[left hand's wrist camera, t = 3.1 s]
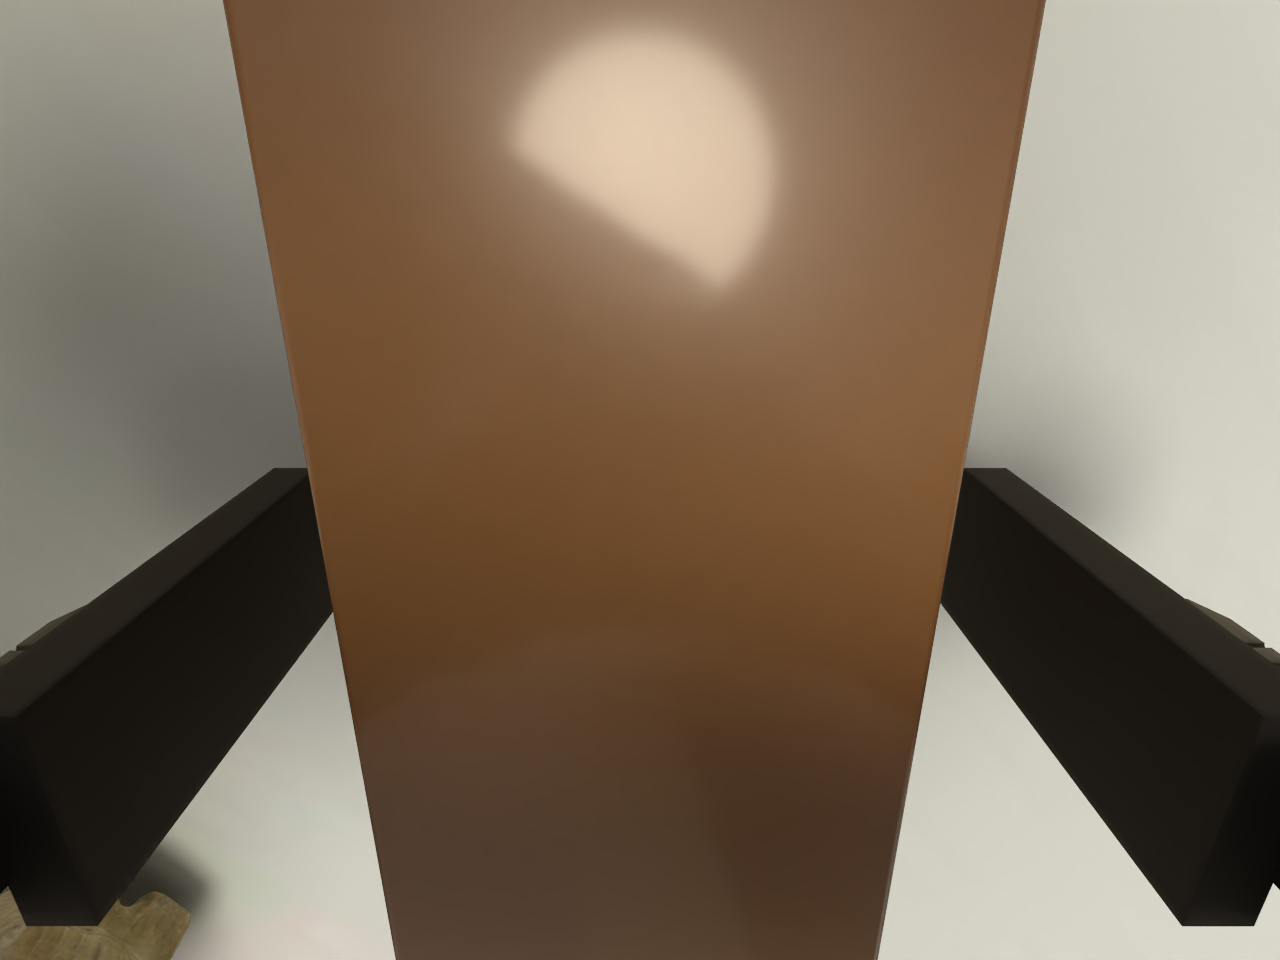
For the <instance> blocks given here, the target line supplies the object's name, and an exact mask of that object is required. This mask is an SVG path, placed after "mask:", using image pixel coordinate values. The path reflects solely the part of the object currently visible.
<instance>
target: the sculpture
mask: <svg viewBox="0 0 1280 960" xmlns="http://www.w3.org/2000/svg"><path fill="white" fill-rule="evenodd" d="M190 918H191V915H190V913H189V912H188V911H187V910H185V909H184V908H183V907H181V906H180V905H179V904H177V903H176V902H175V901H173V900H172V899H171V898H170V897H168V896H166V895H165V894H163V893H160V892H156V891H153V892H150V893H148V894H146V895H144V896H142V897H141V898H140V899H138V900H137V901H136V902H135V903H134V904H133V905H131V906H129V907H126V906H123V905H121V904H120V901H119V899H118V900H117V901H116V902H115V904H114V905H113V906H112V908H111V909H110V910H109V912H108V913H107V914H106V916H105V917H104V918H103V920H102V921H101V922H100V924H99V925H98V926H26V925H25V923H24V920H23V918H22V916H21V914H20V911H19V909H18V907H17V904H16V902H15V900H14V898H13V895H12V893H11V891H10V890H9V891H7V892H5V893H3V894H1V895H0V960H170V959H171V957H172V956H173V954H174V952H175V950H176V948H177V947H178V945H179V943H180V941H181V939H182V937H183V935H184V933H185V931H186V929H187V927H188V925H189V922H190Z"/></svg>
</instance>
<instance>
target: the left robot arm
mask: <svg viewBox="0 0 1280 960" xmlns="http://www.w3.org/2000/svg"><path fill="white" fill-rule="evenodd" d="M940 603H941V604H942V606H943V607H944V608H945V610H946V611H947V612H948V614H949V615H950V616H951V618H952V619H953V620H954V622H955V623H956V624H957V626H958V627H959V628H960V630H961V631H962V632H963V634H964V635H965V636H966V638H967V639H968V640H969V642H970V643H971V644H972V646H973V647H974V648H975V650H976V651H977V652H978V654H979V655H980V656H981V658H982V659H983V660H984V662H985V663H986V664H987V666H988V667H989V668H990V670H991V671H992V672H993V674H994V675H995V676H996V678H997V679H998V680H999V682H1000V683H1001V684H1002V686H1003V687H1004V689H1005V690H1006V691H1007V693H1008V694H1009V695H1010V697H1011V698H1012V699H1013V701H1014V702H1015V703H1016V705H1017V706H1018V707H1019V709H1020V710H1021V711H1022V713H1023V714H1024V715H1025V717H1026V718H1027V719H1028V721H1029V722H1030V723H1031V725H1032V726H1033V727H1034V729H1035V730H1036V731H1037V733H1038V734H1039V735H1040V737H1041V738H1042V739H1043V741H1044V742H1045V743H1046V745H1047V746H1048V747H1049V749H1050V750H1051V751H1052V753H1053V754H1054V755H1055V757H1056V758H1057V759H1058V761H1059V762H1060V763H1061V765H1062V766H1063V767H1064V769H1065V770H1066V771H1067V773H1068V774H1069V775H1070V777H1071V778H1072V779H1073V781H1074V782H1075V783H1076V785H1077V786H1078V787H1079V789H1080V790H1081V791H1082V793H1083V794H1084V795H1085V797H1086V798H1087V799H1088V801H1089V802H1090V804H1091V805H1092V806H1093V808H1094V809H1095V810H1096V812H1097V813H1098V814H1099V816H1100V817H1101V818H1102V820H1103V821H1104V822H1105V824H1106V825H1107V826H1108V828H1109V829H1110V830H1111V832H1112V833H1113V834H1114V836H1115V837H1116V838H1117V840H1118V841H1119V842H1120V844H1121V845H1122V846H1123V848H1124V849H1125V850H1126V852H1127V853H1128V854H1129V856H1130V857H1131V858H1132V860H1133V861H1134V862H1135V864H1136V865H1137V866H1138V868H1139V869H1140V870H1141V872H1142V873H1143V874H1144V876H1145V877H1146V878H1147V880H1148V881H1149V882H1150V884H1151V885H1152V886H1153V888H1154V889H1155V890H1156V892H1157V893H1158V894H1159V896H1160V897H1161V898H1162V900H1163V901H1164V902H1165V904H1166V905H1167V906H1168V908H1169V909H1170V910H1171V912H1172V913H1173V914H1174V916H1175V917H1176V919H1177V920H1178V921H1179V923H1180V924H1181V925H1182V926H1254V925H1255V923H1256V920H1257V918H1258V916H1259V913H1260V911H1261V909H1262V907H1263V904H1264V902H1265V900H1266V898H1267V895H1268V893H1269V891H1270V889H1271V886H1272V884H1273V883H1274V884H1275V885H1276V886H1277V887H1278V888H1279V889H1280V654H1279V653H1278V652H1276V651H1275V650H1274V649H1272V648H1265V646H1264V642H1262V641H1261V640H1259V639H1258V638H1257V637H1255V636H1254V635H1252V634H1251V633H1249V632H1248V631H1247V630H1245V629H1244V628H1242V627H1241V626H1240V625H1238V624H1237V623H1235V622H1234V621H1233V620H1231V619H1229V618H1227V617H1225V616H1223V615H1221V614H1218V613H1216V612H1214V611H1212V610H1210V609H1208V608H1206V607H1203V606H1201V605H1199V604H1197V603H1195V602H1193V601H1191V600H1188V599H1184V598H1183V597H1182V596H1180V595H1179V594H1178V593H1176V592H1175V591H1173V590H1172V589H1171V588H1169V587H1168V586H1167V585H1165V584H1164V583H1162V582H1161V581H1160V580H1158V579H1157V578H1156V577H1154V576H1153V575H1151V574H1150V573H1149V572H1147V571H1146V570H1145V569H1143V568H1142V567H1141V566H1139V565H1138V564H1136V563H1135V562H1134V561H1132V560H1131V559H1130V558H1128V557H1127V556H1125V555H1124V554H1123V553H1121V552H1120V551H1119V550H1117V549H1116V548H1115V547H1113V546H1112V545H1110V544H1109V543H1108V542H1106V541H1105V540H1104V539H1102V538H1101V537H1099V536H1098V535H1097V534H1095V533H1094V532H1093V531H1091V530H1090V529H1088V528H1087V527H1086V526H1084V525H1083V524H1082V523H1080V522H1079V521H1078V520H1076V519H1075V518H1073V517H1072V516H1071V515H1069V514H1068V513H1067V512H1065V511H1064V510H1062V509H1061V508H1060V507H1058V506H1057V505H1056V504H1054V503H1053V502H1051V501H1050V500H1049V499H1047V498H1046V497H1045V496H1043V495H1042V494H1041V493H1039V492H1038V491H1036V490H1035V489H1034V488H1032V487H1031V486H1030V485H1028V484H1027V483H1025V482H1024V481H1023V480H1021V479H1020V478H1019V477H1017V476H1016V475H1015V474H1013V473H1012V472H1010V471H1009V470H1008V469H1006V468H964V469H963V475H962V481H961V487H960V492H959V498H958V504H957V509H956V515H955V521H954V526H953V532H952V538H951V544H950V549H949V555H948V561H947V566H946V572H945V578H944V584H943V589H942V595H941V601H940ZM332 612H333V608H332V602H331V597H330V591H329V585H328V580H327V574H326V569H325V563H324V558H323V552H322V547H321V541H320V536H319V530H318V524H317V519H316V513H315V508H314V502H313V497H312V491H311V486H310V480H309V475H308V469H307V468H274V469H272V470H271V471H270V472H268V473H267V474H265V475H264V476H263V477H261V478H260V479H259V480H257V481H256V482H255V483H253V484H252V485H250V486H249V487H248V488H246V489H245V490H244V491H242V492H241V493H239V494H238V495H237V496H235V497H234V498H233V499H231V500H230V501H228V502H227V503H226V504H224V505H223V506H222V507H220V508H219V509H218V510H216V511H215V512H213V513H212V514H211V515H209V516H208V517H207V518H205V519H204V520H202V521H201V522H200V523H198V524H197V525H196V526H194V527H193V528H192V529H190V530H189V531H187V532H186V533H185V534H183V535H182V536H181V537H179V538H178V539H176V540H175V541H174V542H172V543H171V544H170V545H168V546H167V547H165V548H164V549H163V550H161V551H160V552H159V553H157V554H156V555H155V556H153V557H152V558H150V559H149V560H148V561H146V562H145V563H144V564H142V565H141V566H139V567H138V568H137V569H135V570H134V571H133V572H131V573H130V574H128V575H127V576H126V577H124V578H123V579H122V580H120V581H119V582H118V583H116V584H115V585H113V586H112V587H111V588H109V589H108V590H107V591H105V592H104V593H102V594H101V595H100V596H98V597H97V598H96V599H94V600H93V601H92V602H90V603H89V604H87V605H85V606H83V607H81V608H79V609H77V610H75V611H72V612H70V613H68V614H66V615H64V616H62V617H60V618H57V619H55V620H53V621H51V622H49V623H48V624H47V625H45V626H44V627H42V628H41V629H40V630H38V631H37V632H35V633H34V634H33V635H31V636H30V637H28V638H27V639H26V640H24V641H23V642H21V643H20V644H19V645H17V649H16V651H9V652H7V653H6V654H4V655H3V656H2V657H0V894H1V893H2V892H3V890H4V889H5V888H6V887H7V886H9V889H10V891H11V893H12V895H13V898H14V900H15V902H16V904H17V907H18V909H19V911H20V914H21V916H22V918H23V920H24V923H25V925H26V926H98V925H99V924H100V922H101V921H102V920H103V918H104V917H105V916H106V914H107V913H108V912H109V910H110V909H111V908H112V906H113V905H114V904H115V902H116V901H117V900H118V898H119V897H120V896H121V894H122V893H123V892H124V890H125V889H126V888H127V886H128V885H129V884H130V882H131V881H132V880H133V878H134V877H135V876H136V874H137V873H138V872H139V870H140V869H141V868H142V866H143V865H144V864H145V862H146V861H147V860H148V858H149V857H150V856H151V854H152V853H153V852H154V850H155V849H156V848H157V846H158V845H159V844H160V842H161V841H162V840H163V838H164V837H165V836H166V834H167V833H168V832H169V830H170V829H171V828H172V826H173V825H174V824H175V822H176V821H177V820H178V818H179V817H180V816H181V814H182V813H183V812H184V810H185V809H186V807H187V806H188V805H189V803H190V802H191V801H192V799H193V798H194V797H195V795H196V794H197V793H198V791H199V790H200V789H201V787H202V786H203V785H204V783H205V782H206V781H207V779H208V778H209V777H210V775H211V774H212V773H213V771H214V770H215V769H216V767H217V766H218V765H219V763H220V762H221V761H222V759H223V758H224V757H225V755H226V754H227V753H228V751H229V750H230V749H231V747H232V746H233V745H234V743H235V742H236V741H237V739H238V738H239V737H240V735H241V734H242V733H243V731H244V730H245V729H246V727H247V726H248V725H249V723H250V722H251V721H252V719H253V718H254V717H255V715H256V714H257V713H258V711H259V710H260V709H261V707H262V706H263V705H264V703H265V702H266V701H267V699H268V698H269V697H270V695H271V694H272V692H273V691H274V690H275V688H276V687H277V686H278V684H279V683H280V682H281V680H282V679H283V678H284V676H285V675H286V674H287V672H288V671H289V670H290V668H291V667H292V666H293V664H294V663H295V662H296V660H297V659H298V658H299V656H300V655H301V654H302V652H303V651H304V650H305V648H306V647H307V646H308V644H309V643H310V642H311V640H312V639H313V638H314V636H315V635H316V634H317V632H318V631H319V630H320V628H321V627H322V626H323V624H324V623H325V622H326V620H327V619H328V618H329V616H330V615H331V614H332Z"/></svg>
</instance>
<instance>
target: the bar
mask: <svg viewBox="0 0 1280 960" xmlns="http://www.w3.org/2000/svg"><path fill="white" fill-rule="evenodd" d="M1045 2H1046V0H223V3H224V9H225V14H226V20H227V25H228V31H229V36H230V42H231V47H232V53H233V58H234V64H235V70H236V75H237V81H238V86H239V92H240V97H241V103H242V108H243V114H244V119H245V125H246V131H247V136H248V142H249V147H250V153H251V158H252V164H253V169H254V175H255V181H256V186H257V192H258V197H259V203H260V208H261V214H262V219H263V225H264V230H265V236H266V242H267V247H268V253H269V258H270V264H271V269H272V275H273V280H274V286H275V291H276V297H277V303H278V308H279V314H280V319H281V325H282V330H283V336H284V341H285V347H286V352H287V358H288V364H289V369H290V375H291V380H292V386H293V391H294V397H295V402H296V408H297V413H298V419H299V425H300V430H301V436H302V441H303V447H304V452H305V458H306V463H307V469H308V475H309V480H310V486H311V491H312V497H313V502H314V508H315V513H316V519H317V524H318V530H319V536H320V541H321V547H322V552H323V558H324V563H325V569H326V574H327V580H328V585H329V591H330V597H331V602H332V608H333V613H334V619H335V624H336V630H337V635H338V641H339V646H340V652H341V658H342V663H343V669H344V674H345V680H346V685H347V691H348V696H349V702H350V708H351V713H352V719H353V724H354V730H355V735H356V741H357V746H358V752H359V757H360V763H361V769H362V774H363V780H364V785H365V791H366V796H367V802H368V807H369V813H370V818H371V824H372V830H373V835H374V841H375V846H376V852H377V857H378V863H379V868H380V874H381V879H382V885H383V891H384V896H385V902H386V907H387V913H388V918H389V924H390V929H391V935H392V940H393V946H394V952H395V957H396V960H878V954H879V948H880V943H881V937H882V931H883V926H884V920H885V914H886V909H887V903H888V897H889V891H890V886H891V880H892V874H893V869H894V863H895V857H896V852H897V846H898V840H899V834H900V829H901V823H902V817H903V812H904V806H905V800H906V794H907V789H908V783H909V777H910V772H911V766H912V760H913V755H914V749H915V743H916V737H917V732H918V726H919V720H920V715H921V709H922V703H923V698H924V692H925V686H926V680H927V675H928V669H929V663H930V658H931V652H932V646H933V641H934V635H935V629H936V623H937V618H938V612H939V606H940V601H941V595H942V589H943V584H944V578H945V572H946V566H947V561H948V555H949V549H950V544H951V538H952V532H953V526H954V521H955V515H956V509H957V504H958V498H959V492H960V487H961V481H962V475H963V469H964V464H965V458H966V452H967V447H968V441H969V435H970V430H971V424H972V418H973V412H974V407H975V401H976V395H977V390H978V384H979V378H980V373H981V367H982V361H983V355H984V350H985V344H986V338H987V333H988V327H989V321H990V316H991V310H992V304H993V298H994V293H995V287H996V281H997V276H998V270H999V264H1000V259H1001V253H1002V247H1003V241H1004V236H1005V230H1006V224H1007V219H1008V213H1009V207H1010V201H1011V196H1012V190H1013V184H1014V179H1015V173H1016V167H1017V162H1018V156H1019V150H1020V144H1021V139H1022V133H1023V127H1024V122H1025V116H1026V110H1027V105H1028V99H1029V93H1030V87H1031V82H1032V76H1033V70H1034V65H1035V59H1036V53H1037V48H1038V42H1039V36H1040V30H1041V25H1042V19H1043V13H1044V8H1045Z"/></svg>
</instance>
